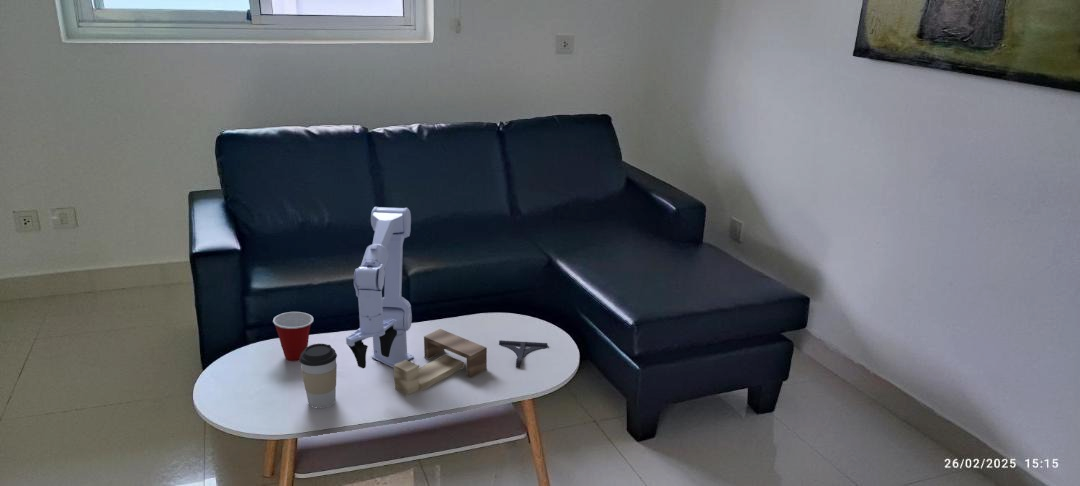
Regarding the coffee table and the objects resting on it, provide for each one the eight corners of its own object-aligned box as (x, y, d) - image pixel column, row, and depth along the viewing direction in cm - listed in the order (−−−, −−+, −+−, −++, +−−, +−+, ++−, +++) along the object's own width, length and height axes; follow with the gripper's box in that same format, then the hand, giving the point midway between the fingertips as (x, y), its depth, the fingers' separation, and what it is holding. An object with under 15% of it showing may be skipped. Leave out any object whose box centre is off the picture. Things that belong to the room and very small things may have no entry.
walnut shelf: (424, 357, 212) (423, 336, 209) (440, 349, 216) (440, 328, 214) (470, 378, 201) (470, 356, 199) (486, 369, 206) (486, 347, 204)
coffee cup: (305, 413, 183) (300, 359, 178) (301, 395, 191) (296, 343, 186) (342, 406, 186) (339, 353, 181) (337, 389, 194) (333, 337, 189)
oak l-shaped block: (392, 387, 196) (391, 364, 193) (445, 359, 211) (445, 337, 208) (410, 396, 192) (409, 372, 189) (463, 367, 207) (463, 345, 204)
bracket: (492, 368, 208) (492, 359, 207) (499, 344, 222) (499, 335, 221) (543, 372, 207) (543, 363, 206) (547, 347, 221) (547, 339, 220)
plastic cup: (319, 361, 208) (316, 322, 204) (279, 368, 204) (275, 329, 200) (313, 345, 217) (310, 307, 213) (274, 351, 213) (270, 313, 209)
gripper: (358, 326, 175) (361, 377, 180) (404, 307, 186) (405, 355, 191) (339, 318, 179) (342, 368, 184) (385, 300, 190) (387, 347, 195)
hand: (373, 361), depth 187 cm, fingers open, 7 cm apart
